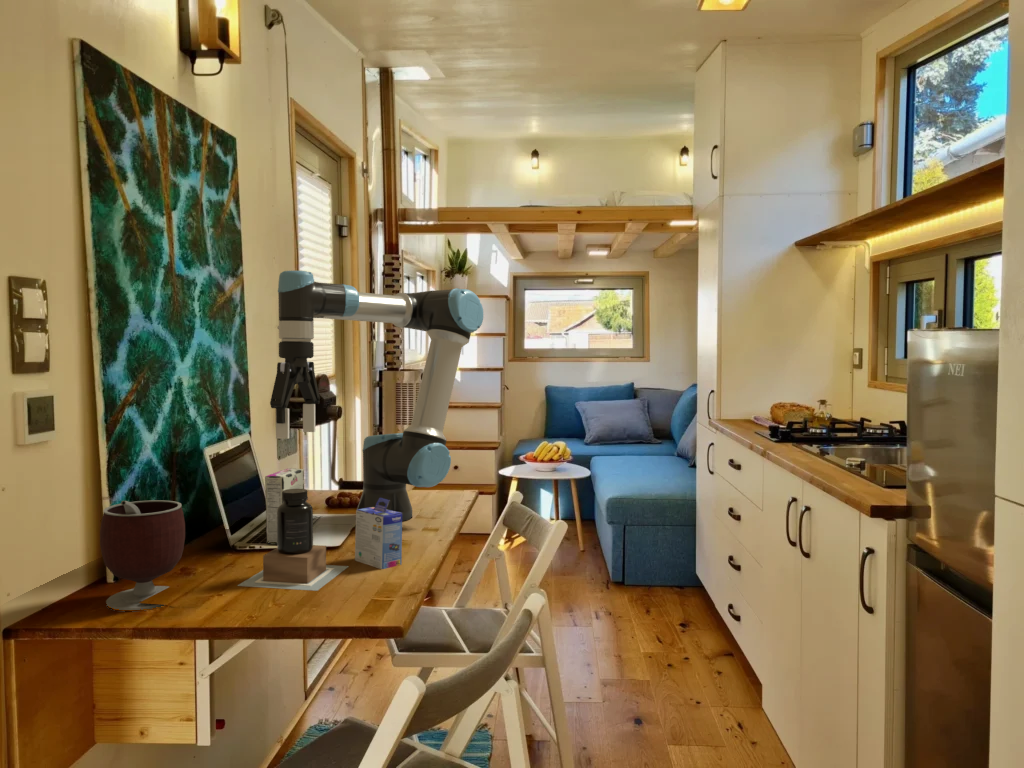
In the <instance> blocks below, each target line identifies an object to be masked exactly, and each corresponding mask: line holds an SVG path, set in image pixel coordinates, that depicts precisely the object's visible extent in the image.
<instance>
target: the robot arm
mask: <svg viewBox="0 0 1024 768" xmlns="http://www.w3.org/2000/svg"><path fill="white" fill-rule="evenodd" d="M314 278H315V277H314V274H313V273H312V272H311V271H307V270H284V271H282V272H280V274H279V277H278V288H277V293H278V325H277V329H278V338H279V340H280V339H281V341H279V342H278V357H279V359H284V362H283V361H282V362H277V365H276V375H275V380H274V384H273V389H272V393H271V396H270V397H271V398H270V402H269V404H270V409H275V439H278V440H279V439H280V440H281V439H282V440H284V439H285V440H286V439H287V440H288V439H290V408H288V405H289V402H290V400H291V397H292V394H293V391H294V389H295V386H296V385H297V386H298V388H299V391H300V393H301V396H302V398H303V401H304V403H303V404H302V432H303V433H304V432H305V433H316V404H318V405H319V404H320V403H321V402H320V398H321V397H320V393H319V388H318V383H317V378H316V373H315V363H314V361H308V359H312V358H313V357H314V356H315V355H314V354H315V353H314V347H315V346H314V343H313V341H312V340H314V338H315V335H314V334H315V333H314V330H315V329H314V321H315V320H314V319H329V320H343V321H357V322H358V321H359V322H372V323H384V324H385V323H386V324H393V326H395V327H396V328H404V329H411V330H417V331H422V332H426V333H427V335H428V337H429V338H430V341H429V342H430V343H429V348H428V351H427V356H426V361H425V365H424V368H423V371H422V372H423V373H422V376H421V377H422V378H421V382H420V384H419V389H418V390H419V391H418V393H417V398H416V402H415V407H414V410H413V415H412V420H411V423H410V426H408V427H407V428H405V429H404V430H403V432H399V433H386V434H377V435H376V434H375V435H368V436H366V437H364V440H363V447H362V470H363V471H362V473H363V474H362V479H363V482H362V485H363V487H362V494H361V496H360V499H359V502H358V505H357V508H356V510H358V509H363V508H369V507H375V506H376V503H377V501H378V500H379V498H383V499H387V500H390V502H389V504H388V507H387V510H391V511H396V512H401V513H402V522H405V521H408V520H411V519H412V518H413V507H412V503H411V500H410V498H409V497H410V496H409V494H408V492H407V491H408V490H407V485H408V486H409V485H410V486H414V487H417V488H432V487H435V486H437V485H438V484H440V483H441V482H443V480H444V479H445V478H446V477H447V475H448V474H449V471H450V468H451V464H452V457H451V455H450V450H449V448H448V447H447V446H446V445H447V438H446V436H445V435H444V427H445V423H446V419H447V414H448V410H449V406H450V402H451V401H450V400H451V397H452V393H453V389H454V384H455V379H456V375H457V370H458V365H459V363H460V358H461V353H462V349H463V347H464V346H465V345H468V344H469V342H470V339H471V335H472V333H474V332H476V331H477V330H478V329H480V328H481V327H482V325H483V323H484V322H483V321H484V307H483V304H482V303H481V300H480V298H479V296H478V295H477V294H476V293H475V292H474V291H472V290H470V289H469V288H467V289H466V288H453V289H452V288H451V289H439V290H437V289H435V290H425V291H420V292H419V291H418V292H398V293H396V294H395V295H391V294H381V293H371V292H362V291H361V292H360V291H358V290H357V288H355V286H353V285H348V284H344V283H329V282H318V281H315V279H314ZM379 505H381V506H385V505H386V504H385V503H384V502H380V503H379ZM411 517H412V518H411Z"/></svg>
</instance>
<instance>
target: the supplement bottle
mask: <svg viewBox="0 0 1024 768" xmlns="http://www.w3.org/2000/svg"><path fill="white" fill-rule="evenodd" d="M308 500H309V496H308V489H306V488H304V489H287V490H284V491H282V501H283V504H281V505H280V506H279V507H278V509H277V544H276V545H277V547H276V548H278V551H279V552H280V553H282V554H288V555H295V554H303V553H306V552H309V551H311V550H312V548H313V545H314V511H313V509H314V508H313V506H312V504H310V503H309V502H307V501H308Z"/></svg>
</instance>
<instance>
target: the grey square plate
mask: <svg viewBox="0 0 1024 768" xmlns="http://www.w3.org/2000/svg"><path fill="white" fill-rule="evenodd" d="M348 568H349V566H348V565H336V564H335V565H334V564H333V565H332V564H326V571H324V572H323V573H322V574H320V575H319V576H317V577H316V578H315V579H313V580H312V581H310V582H309V583H308V584H304V583H287V582H271V581H263V569H262V570H261V571H259V572H258V573H256V574H254V575H252V576H251V577H249V578H247V579H246V580H244V581H242V582H241V583H239V584H237V585H236V586H237V587H246V588H247V587H248V588H249V587H250V588H263V589H264V588H267V589H282V590H298V591H300V590H301V591H314V592H318V591H319V590H320V589H321V588H323V587H325V585H327V584H328V583H329V582H331V581H332V580H333V579H335V578H336V577H337V576H338V575H340V574H341V573H343V572H344V571H345V570H346V569H348Z"/></svg>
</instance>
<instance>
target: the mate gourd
mask: <svg viewBox="0 0 1024 768" xmlns="http://www.w3.org/2000/svg"><path fill="white" fill-rule="evenodd" d="M182 507H183V506H182V503H181V502H179V501H173V500H164V499H163V500H161V499H160V500H158V499H156V500H155V499H154V500H140V501H139V500H137V501H127V500H121V502H120V503H117V504H113V505H110V506H107V507H105V508H104V509H103V511H102V512H103V514H102V518H101V523H100V529H99V530H100V531H99V539H100V540H99V541H100V542H99V544H100V545H99V546H100V551H101V557H102V560H103V563H104V566H105V567H106V568H107V569H108V570H109V571H110V573H112V574H113V575H114V576H115V577H117V578H119V579H124V580H128V581H132V582H135V586H134V587H133V588H131V589H126V590H122V591H120V592H117V593H114V594H112V595H110V596H108V598H107V599H106V600H105V603H106V604H107V605H106V607H107V606H109V607H111V608H114V609H119V610H140V609H141V610H143V609H151V610H153V609H152V608H156V607H160V608H162V607H161V606H164V605H165V604H158V603H147V602H146V603H145V602H143V601H146V600H148V599H149V598H151V597H153V596H154V595H157V594H158V593H161V592H162V591H164V590H167V589H168V588H170V586H168V585H155V584H154V582H153V580H155V579H157V578H159V577H161V576H163V575H165V574H168V573H169V572H171V571H172V570H173V569H174V568H175V567H176V565H177V564H178V563H179V561H180V560H181V558H182V555H183V552H184V547H185V540H186V521H185V516H184V515H185V514H184V511H183V508H182ZM164 607H165V606H164ZM156 609H157V608H156Z"/></svg>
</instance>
